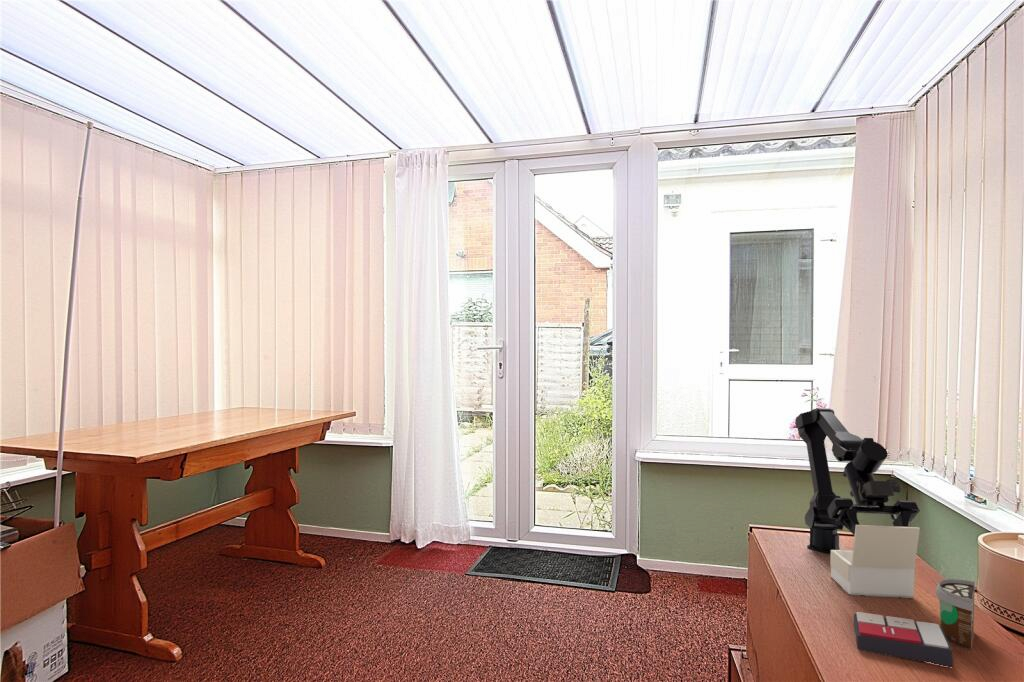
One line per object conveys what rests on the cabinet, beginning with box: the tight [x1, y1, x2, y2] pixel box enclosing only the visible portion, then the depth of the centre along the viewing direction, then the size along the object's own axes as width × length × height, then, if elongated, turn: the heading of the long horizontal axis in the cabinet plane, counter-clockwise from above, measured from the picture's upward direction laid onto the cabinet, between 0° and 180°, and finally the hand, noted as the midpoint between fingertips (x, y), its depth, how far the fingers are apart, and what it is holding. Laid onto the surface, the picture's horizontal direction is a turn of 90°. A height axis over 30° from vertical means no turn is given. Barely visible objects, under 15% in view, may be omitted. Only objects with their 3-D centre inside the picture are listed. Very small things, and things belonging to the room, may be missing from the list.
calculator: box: [853, 611, 954, 668], centre depth 118 cm, size 11×4×15 cm
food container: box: [934, 578, 976, 651], centre depth 122 cm, size 12×6×10 cm, turn 141°
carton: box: [829, 549, 916, 599], centre depth 145 cm, size 10×15×7 cm
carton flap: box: [851, 524, 921, 570], centre depth 139 cm, size 10×14×1 cm
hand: (884, 543), depth 139 cm, fingers open, 9 cm apart
